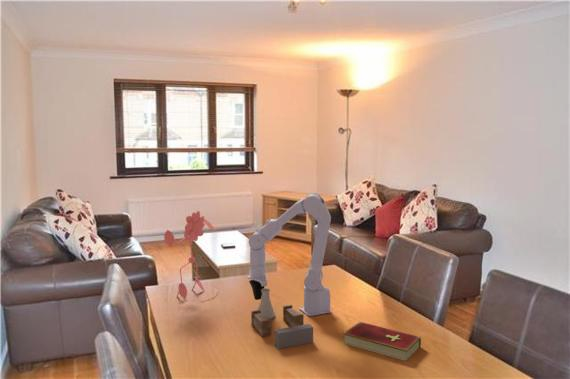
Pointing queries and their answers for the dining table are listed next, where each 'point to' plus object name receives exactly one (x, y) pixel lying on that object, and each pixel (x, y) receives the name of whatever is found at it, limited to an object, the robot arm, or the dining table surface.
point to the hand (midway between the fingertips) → (257, 299)
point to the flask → (266, 305)
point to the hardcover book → (382, 340)
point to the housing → (265, 324)
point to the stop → (293, 336)
